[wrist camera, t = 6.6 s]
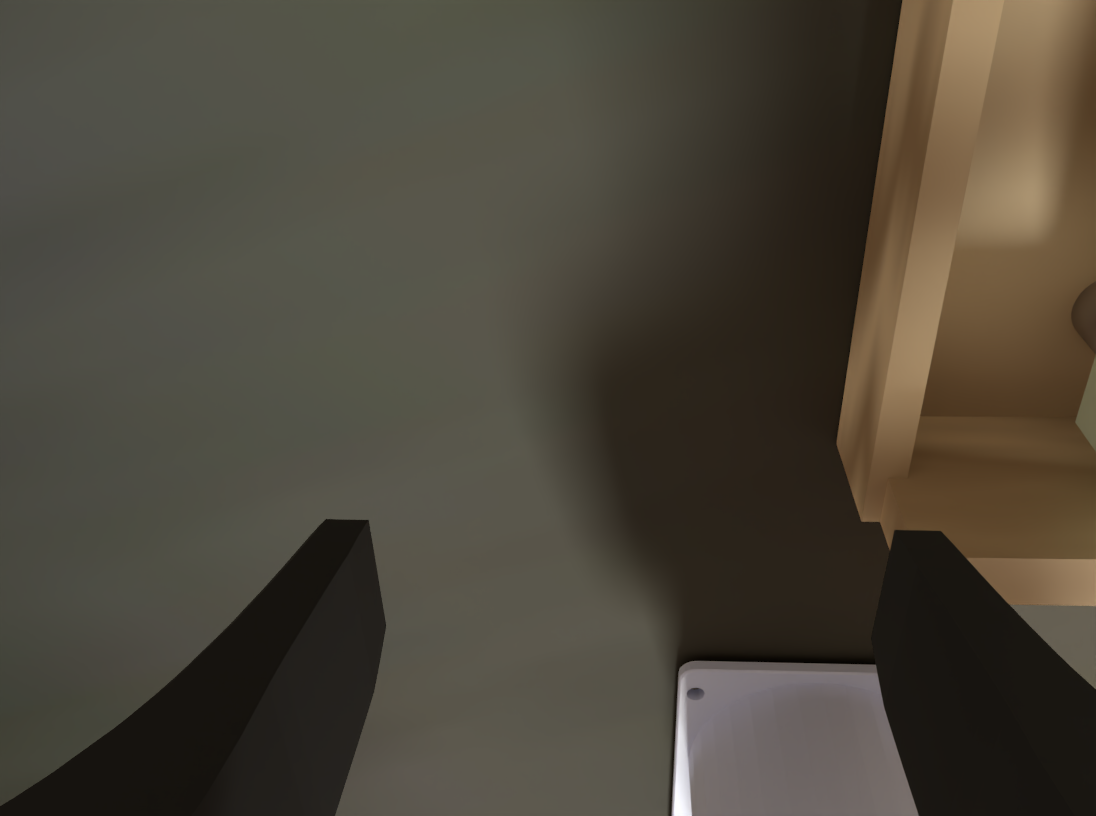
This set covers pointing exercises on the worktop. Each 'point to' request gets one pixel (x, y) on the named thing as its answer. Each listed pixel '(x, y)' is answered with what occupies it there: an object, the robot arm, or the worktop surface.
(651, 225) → the worktop surface
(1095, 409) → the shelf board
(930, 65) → the peg cradle
